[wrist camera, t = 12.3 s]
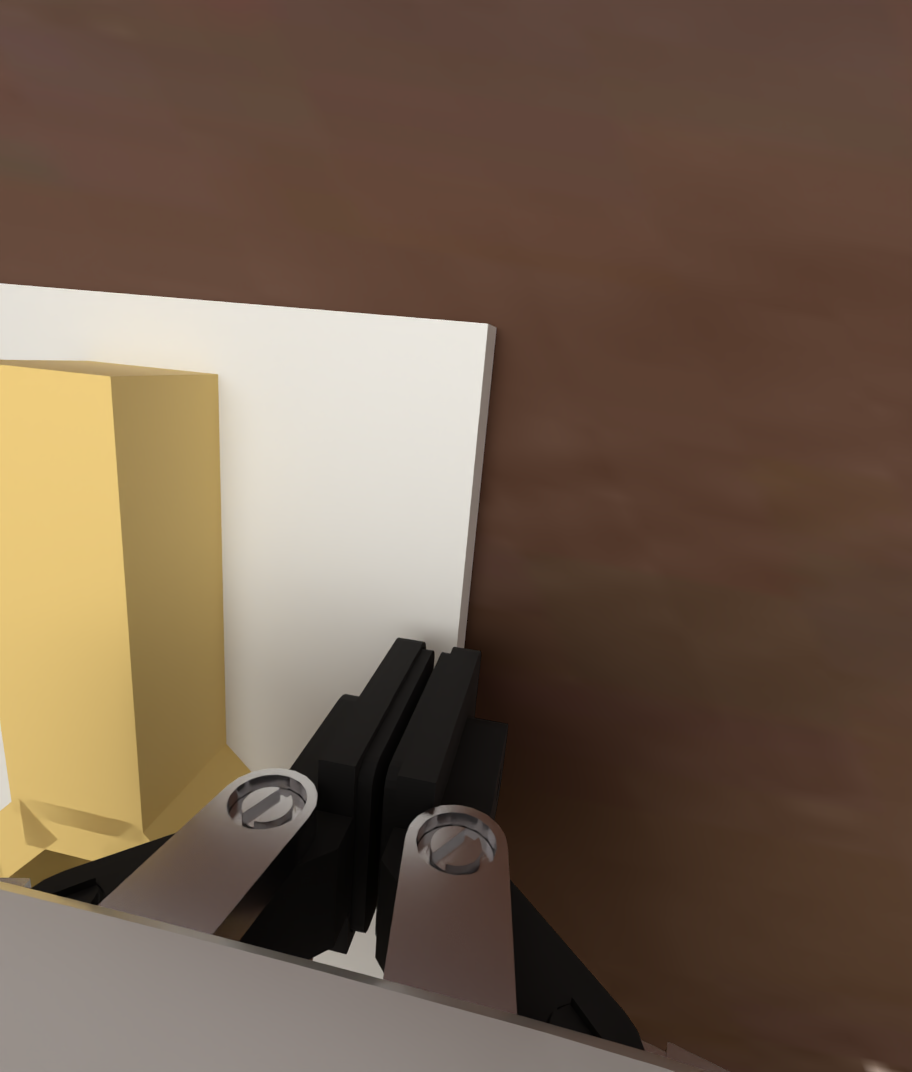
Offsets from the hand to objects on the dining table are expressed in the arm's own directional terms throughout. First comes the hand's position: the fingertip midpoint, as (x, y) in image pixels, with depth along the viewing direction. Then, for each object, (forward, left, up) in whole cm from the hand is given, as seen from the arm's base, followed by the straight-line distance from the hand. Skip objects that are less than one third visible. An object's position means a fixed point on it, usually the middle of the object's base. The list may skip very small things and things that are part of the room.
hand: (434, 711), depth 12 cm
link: (+7, +2, -1) cm, 7 cm away
